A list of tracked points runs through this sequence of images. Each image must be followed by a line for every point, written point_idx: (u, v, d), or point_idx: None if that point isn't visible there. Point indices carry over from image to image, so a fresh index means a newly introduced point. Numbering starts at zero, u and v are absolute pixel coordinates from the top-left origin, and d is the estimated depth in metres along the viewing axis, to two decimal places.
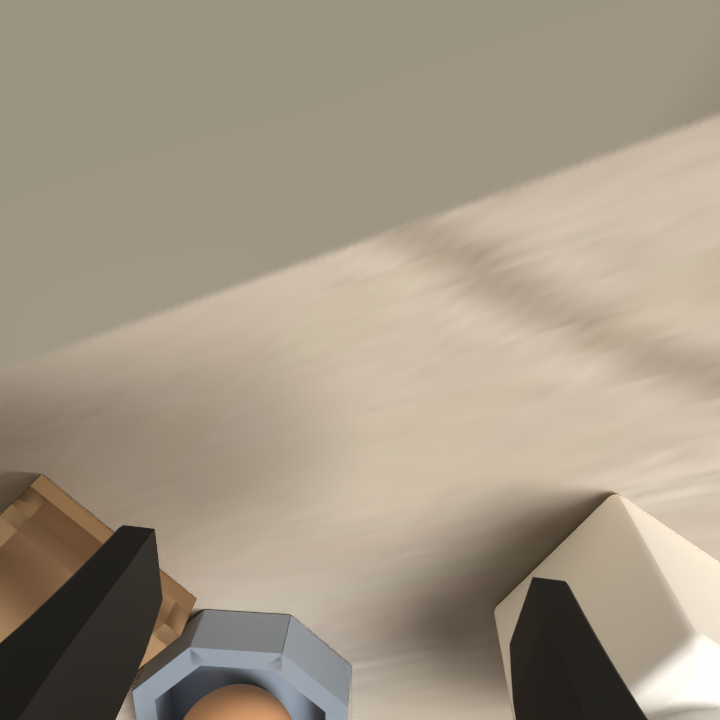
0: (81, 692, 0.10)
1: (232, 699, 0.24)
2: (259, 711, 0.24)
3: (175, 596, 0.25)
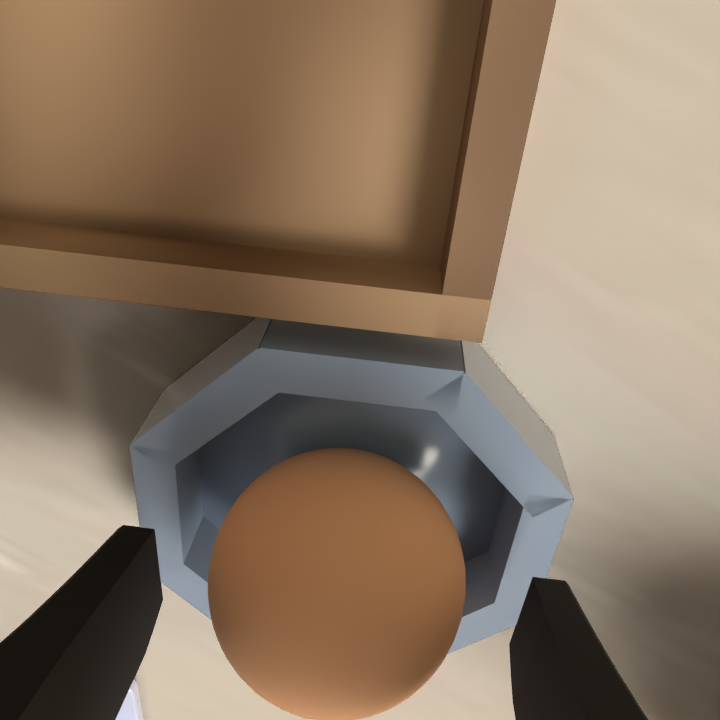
0: (81, 692, 0.10)
1: (434, 502, 0.12)
2: (462, 552, 0.12)
3: None
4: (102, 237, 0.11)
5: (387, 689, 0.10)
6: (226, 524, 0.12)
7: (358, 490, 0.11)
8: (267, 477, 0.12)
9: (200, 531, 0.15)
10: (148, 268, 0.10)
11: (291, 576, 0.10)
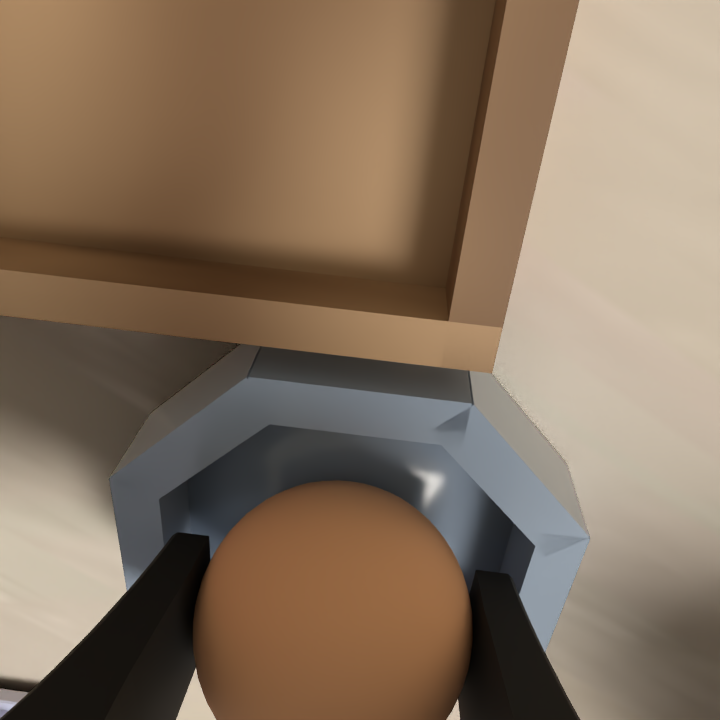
0: (147, 701, 0.09)
1: (439, 543, 0.11)
2: (468, 596, 0.11)
3: None
4: (76, 256, 0.10)
5: None
6: (212, 567, 0.11)
7: (356, 533, 0.10)
8: (257, 515, 0.11)
9: None
10: (125, 291, 0.09)
11: (280, 631, 0.09)
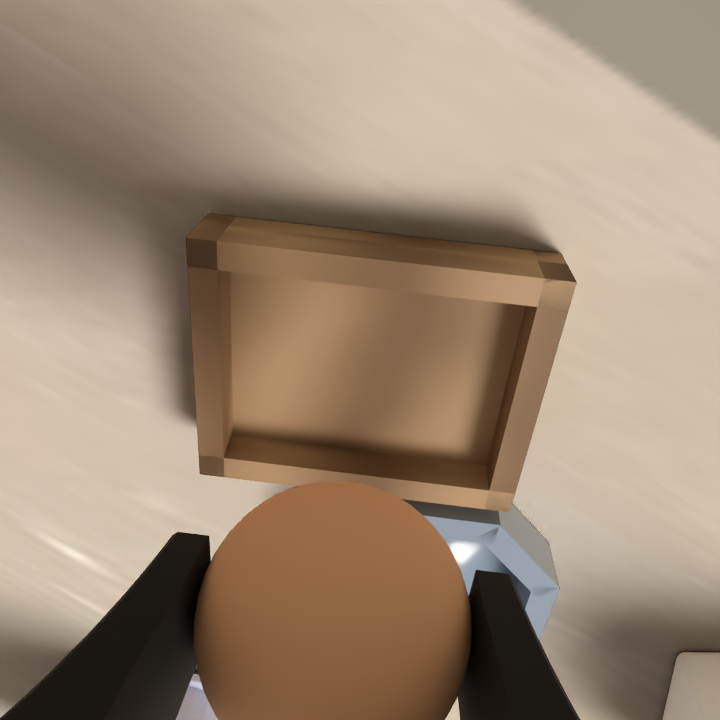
0: (147, 701, 0.09)
1: (436, 542, 0.11)
2: (467, 596, 0.11)
3: None
4: (303, 451, 0.20)
5: None
6: (212, 566, 0.11)
7: (351, 532, 0.10)
8: (256, 515, 0.11)
9: None
10: (334, 474, 0.20)
11: (274, 630, 0.09)
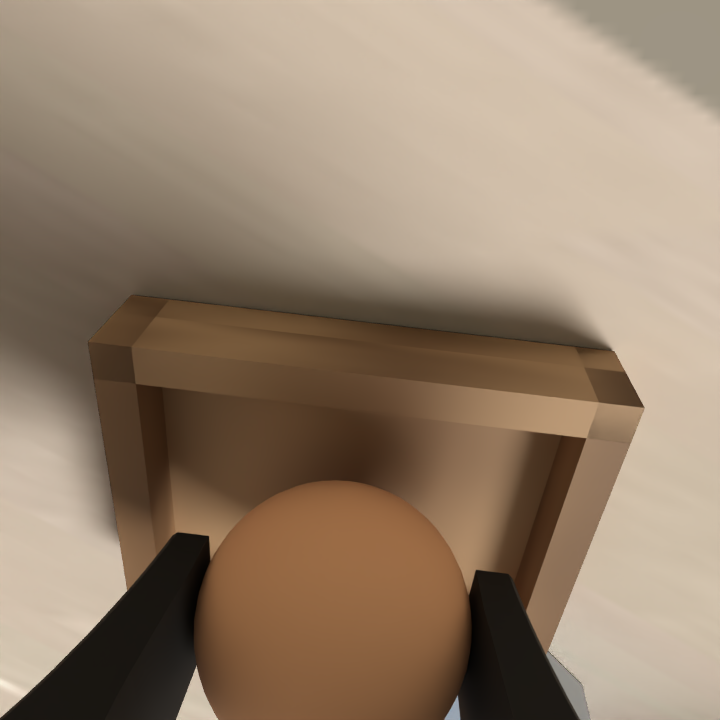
0: (147, 701, 0.09)
1: (436, 542, 0.11)
2: (467, 595, 0.11)
3: None
4: None
5: None
6: (212, 566, 0.11)
7: (350, 531, 0.10)
8: (255, 515, 0.11)
9: None
10: None
11: (274, 629, 0.09)
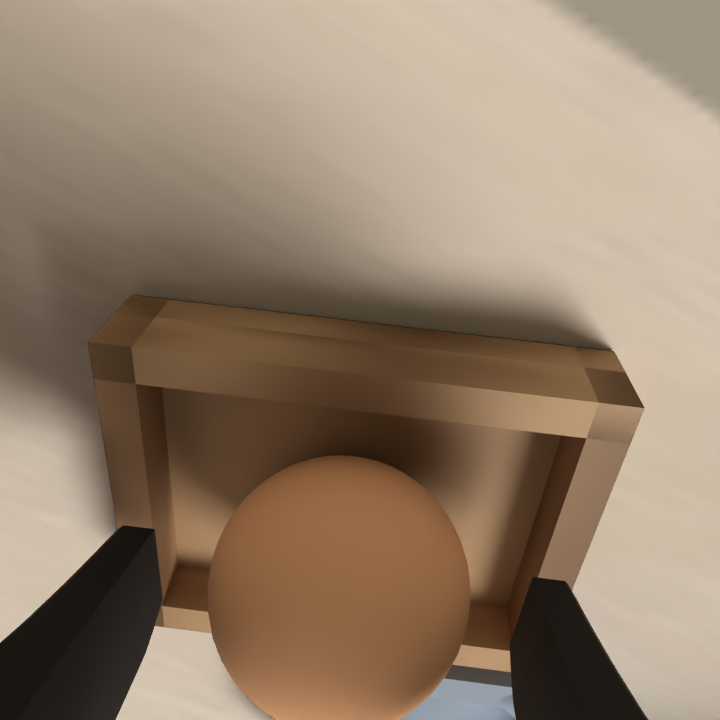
0: (81, 692, 0.10)
1: (436, 510, 0.11)
2: (466, 562, 0.12)
3: None
4: None
5: (388, 703, 0.10)
6: (225, 534, 0.11)
7: (356, 499, 0.11)
8: (265, 486, 0.12)
9: None
10: None
11: (286, 588, 0.10)
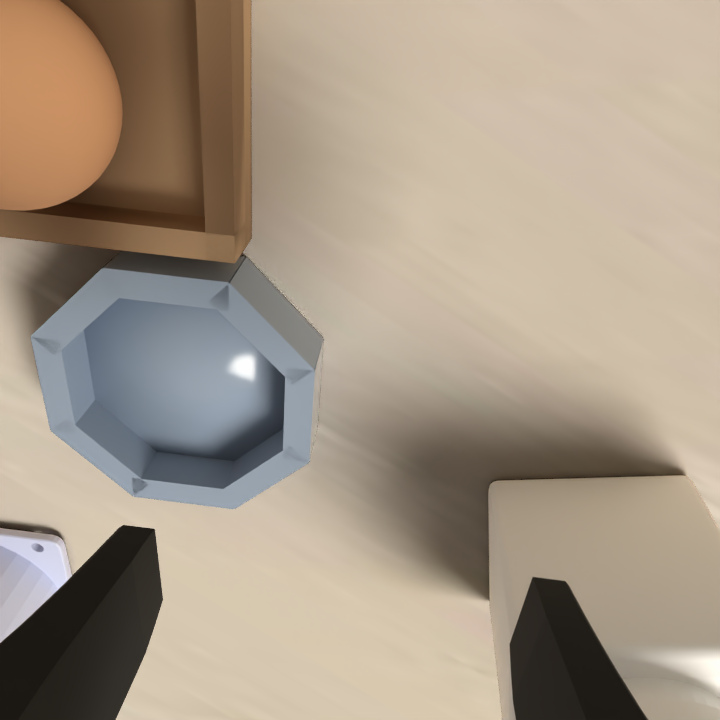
0: (81, 692, 0.10)
1: (72, 13, 0.14)
2: (103, 62, 0.14)
3: (246, 217, 0.18)
4: None
5: None
6: None
7: None
8: None
9: (91, 408, 0.22)
10: (30, 217, 0.17)
11: None
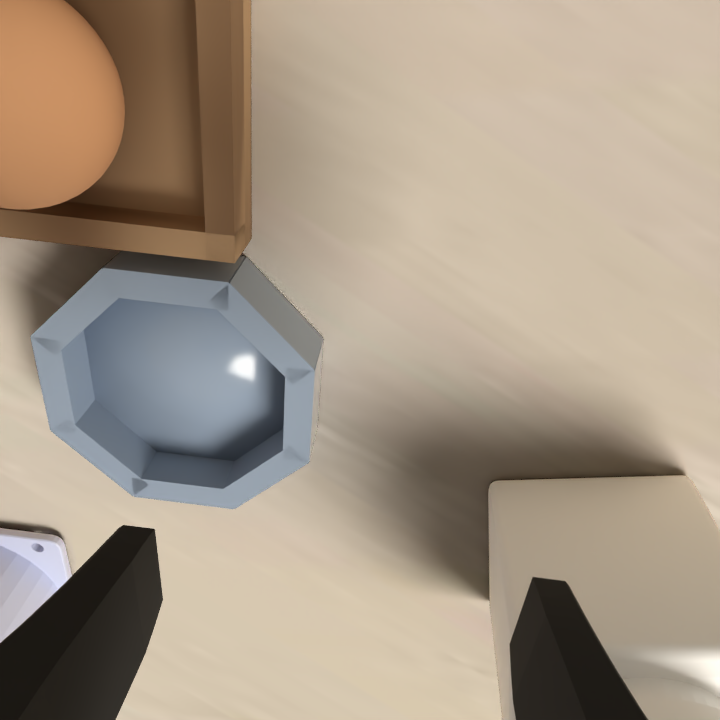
0: (81, 692, 0.10)
1: (76, 12, 0.14)
2: (106, 61, 0.14)
3: (246, 216, 0.18)
4: None
5: (1, 110, 0.12)
6: None
7: None
8: None
9: (91, 408, 0.22)
10: (30, 217, 0.17)
11: None
